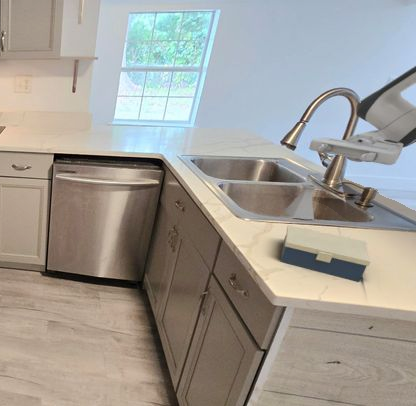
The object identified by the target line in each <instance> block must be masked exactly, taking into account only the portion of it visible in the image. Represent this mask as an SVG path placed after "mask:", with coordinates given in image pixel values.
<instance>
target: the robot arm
mask: <svg viewBox="0 0 416 406" xmlns="http://www.w3.org/2000/svg"><path fill="white" fill-rule="evenodd" d="M413 85H416V65H414V66H413V67H412V68H410V69H408V70H407V71H405V72H404V73H402V74H401V75H398V76H397V77H396V78H395V79H392V81H390V82H389V83H387V84H385V85H384V86H382V87H381V88H380V89H378V90H375V91H374V92H371V93H369V94H368V95H366V96H365V97H363V98H362V99H361V100H360V101H359V102H358V103H357V104H356V106H355V115H356V117H358V118H360V119H361V120H363V121H365V122H367V123H368V124H370V125H371V126H373V127H374V128H376V129H374V130H370V131H366V132H362V133H358V134H354V135H351V136H349V137H348V138H346V139H339V138H334V137H317V138H313V139H312V140H311V141H310V142H309V147H308V149H309V150H310V151H314V152H317V153H320V154H329V155H334V156H340V157H344V158H346V159H348V160H349V161H351V162H357V163H363V162H366V163H376V164H380V165H385V166H393V165H395V164H396V163H397V161H398V160H399V157H400V156H401V153H402V151H403V148H406V147H409V146H411V145H413V144H415V143H416V105H414V104H413V103H411V102H409V101H408V100H407V99H405V98H404V97H403V96H402V94H401V93H402V92H404V91H405V90H407V89H409V88H410V87H412V86H413ZM360 102H361V103H360Z"/></svg>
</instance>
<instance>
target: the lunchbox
mask: <svg viewBox="0 0 416 406" xmlns="http://www.w3.org/2000/svg"><path fill="white" fill-rule="evenodd" d="M281 246H282V248H281V254H280V255H281V256H280V262H281V263H285V264H288V265H292V266H296V267H300V268H303V269H307V270H311V271H315V272H319V273H323V274H326V275H330V276H335V277H339V278H343V279H346V280H350V281H354V282H357V283H360V281H361V279H362V277H363V275H364V273H365V271H366V268H367V267H369V266H370V264H371V258H370V255H369V252H368V247H367V244H366V241H365V240H362V239H356V238H352V237H347V236H342V235H338V234H333V233H328V232H323V231H318V230H314V229H309V228H305V227H299V226H296V225H295V226H294V225H291V224H288V225H287V228H286V232H285V236H284V239H283V242H282V245H281Z"/></svg>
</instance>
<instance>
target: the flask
mask: <svg viewBox="0 0 416 406" xmlns="http://www.w3.org/2000/svg"><path fill="white" fill-rule="evenodd" d="M316 189H317V185H315V184H312V183H302V189H301V190H300V192H299V194H298V195H297V196H296V198H295V199H294V200H293V201H292V202H291V203H290V204H289V205H288V206H287V207H286V208H285V209H284V214H285V215H288V217H291V218H294V219H300V220H315V214H314V213H315V212H314V205H313V204H314V203H313V197H314V192H315V190H316Z"/></svg>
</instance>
